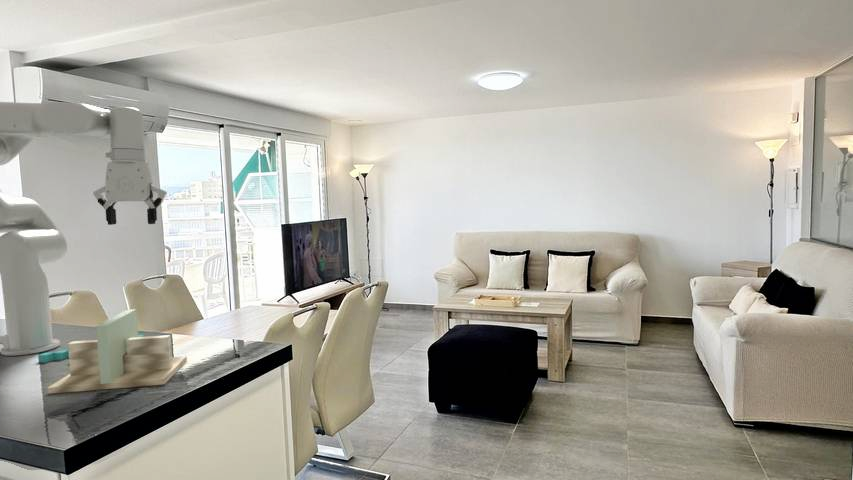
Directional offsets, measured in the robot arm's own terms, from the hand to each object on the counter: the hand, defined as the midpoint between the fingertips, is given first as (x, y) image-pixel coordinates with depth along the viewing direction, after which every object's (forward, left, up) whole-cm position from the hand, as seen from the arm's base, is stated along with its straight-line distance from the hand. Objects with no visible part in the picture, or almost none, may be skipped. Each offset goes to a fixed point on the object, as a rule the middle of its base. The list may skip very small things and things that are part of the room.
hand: (132, 224), depth 135 cm
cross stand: (+5, -24, -33) cm, 41 cm away
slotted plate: (+5, -24, -31) cm, 40 cm away
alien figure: (-8, -1, -33) cm, 34 cm away
